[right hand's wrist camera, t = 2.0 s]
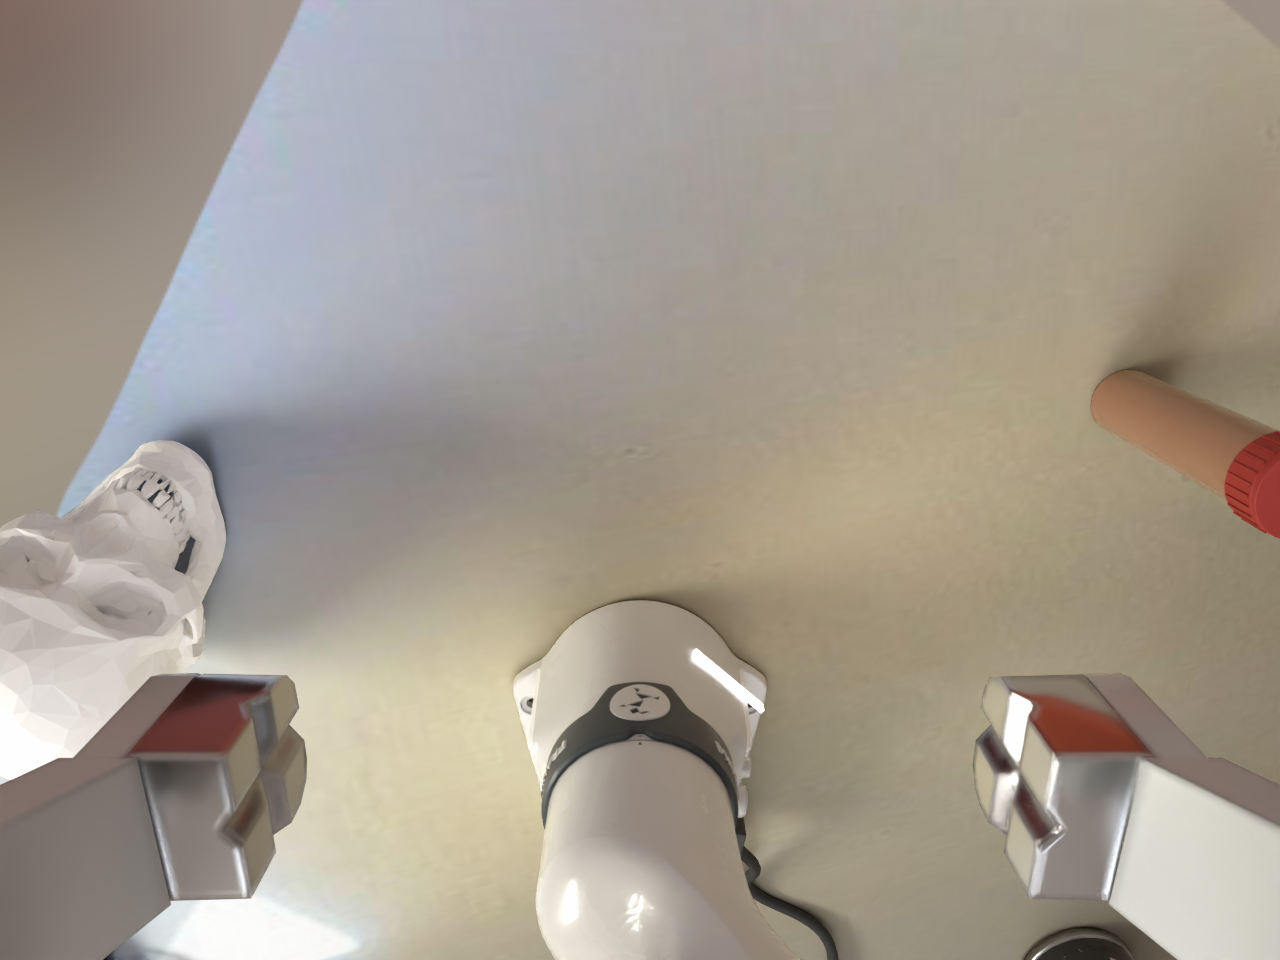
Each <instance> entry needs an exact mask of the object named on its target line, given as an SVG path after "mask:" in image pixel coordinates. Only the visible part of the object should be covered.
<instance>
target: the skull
mask: <svg viewBox="0 0 1280 960" xmlns="http://www.w3.org/2000/svg"><path fill="white" fill-rule="evenodd" d="M152 475H154V476H153V477H152ZM142 476H143V477H142ZM151 477H152V479H151V480H150V478H151ZM159 479H162V480H163V482H162V483H161V484H158V483H157V481H158V480H159ZM144 480H145V481H146V483H145V484H144V485H143V487H142V490H141V492H140V491H139V490H137V489H138V488H139V486H140V485H141V484H142V483H143V481H144ZM168 484H169V485H170V487H169V489H168V492H167V493H166V492H165V491H164V489H165V487H166V486H167V485H168ZM157 490H162V491H161V492H159V493H158V495H157V496H156V498H155V499H154V501H153V503H152V504H151V503H150V502H149V501H148V500H147V499H148V498H149V497H150V496H152V495H153V494H154V493H155V492H156V491H157ZM172 491H173V492H174V495H173V497H172V498H171V499H170V500H169V501H167V500H168V499H169V498H170V497H171V496H170V495H169V493H171V492H172ZM166 501H167V502H166ZM165 502H166V503H165ZM164 503H165V504H164ZM162 504H164V505H163V506H161V505H162ZM178 504H179V505H178ZM176 505H178V506H176ZM160 506H161V507H160ZM156 507H160V510H158V509H157V508H156ZM165 515H166V516H165ZM171 519H172V520H171ZM170 520H171V522H170ZM190 536H191V537H193V538H194V539H195V543H194V546H193V549H192V552H191V556H190V561H189V566H188V570H187V571H186V573H185V574H183V573H181V572H179V571H176V570H175V567H176V564H177V561H178V558H179V554H180V553H181V552H183V551H184V549H185V547H186V542H187V541H188V540H189V538H190ZM225 543H226V531H225V524H224V519H223V516H222V513H221V510H220V507H219V503H218V500H217V497H216V493H215V488H214V483H213V478H212V472H211V470H210V469H209V467H208V466H207V464H206V463H205V461H204V460H203V459H202V458H201V457H200V456H199V455H198V454H197V453H196V452H194V451H193V450H191V449H190V448H188V447H186V446H184V445H182V444H180V443H178V442H175V441H170V440H157V441H150V442H146V443H144V444H143V445H141V446H140V447H139V448H138V449H137V450H136V452H135V453H134V454H133V456H132V457H131V458H130V459H129V460H128V461H127V462H126V463H125V464H124V465H122V466H121V467H120V468H118V469H117V470H115V471H114V472H112V473H111V474H110V475H109V476H108V477H107V478H106V479H105V480H104V481H103V482H102V483H101V484H100V485H99V486H97V487H96V488H95V489H94V490H93V491H92V492H91V493H90V494H89V495H88V496H87V497H86V498H85V499H84V500H83V501H82V502H81V503H80V505H78V506H77V507H76V508H74V509H73V510H71V511H70V512H68V513H67V514H66V515H64V516H63V517H61V518H58V517H54V516H52V515H50V514H47V513H45V512H42V511H40V510H35V511H32V512H30V513H27V514H25V515H23V516H20V517H18V518H16V519H14V520H12V521H10V522H8V523H6V524H5V525H3V526H2V527H1V528H0V776H2V777H4V778H6V779H9V780H12V779H14V778H16V777H19V776H21V775H23V774H25V773H27V772H29V771H31V770H34V769H36V768H38V767H40V766H42V765H44V764H46V763H49V762H51V761H53V760H55V759H57V758H73V757H74V756H75V755H76V754H77V753H78V752H79V751H80V750H81V749H82V748H83V747H84V746H85V745H86V744H87V743H88V741H89V740H90V739H91V738H92V737H93V736H94V735H95V734H96V733H97V732H98V731H99V730H100V729H101V728H102V727H103V726H104V725H105V724H106V723H107V722H108V721H109V720H110V718H111V717H112V716H113V715H114V714H115V713H116V712H117V711H118V710H119V709H120V708H121V707H122V706H123V705H124V704H125V703H126V702H127V701H128V700H129V699H130V698H131V697H132V695H133V694H134V693H135V692H136V691H137V690H138V689H139V688H140V687H141V686H142V685H143V684H144V683H145V682H146V681H147V680H148V679H149V678H150V677H151V676H155V675H159V674H180V673H186V672H187V670H188V669H189V668H190V667H191V666H192V665H193V664H194V663H195V662H196V661H197V660H199V659H200V658H201V656H202V655H203V647H204V635H205V625H206V619H204V618H203V613H204V609H203V604H202V601H203V599H204V597H205V595H206V593H207V590H208V588H209V586H210V584H211V582H212V580H213V578H214V575H215V573H216V571H217V569H218V567H219V565H220V563H221V561H222V558H223V554H224V549H225Z"/></svg>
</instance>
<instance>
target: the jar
mask: <svg viewBox="0 0 1280 960" xmlns="http://www.w3.org/2000/svg"><path fill="white" fill-rule="evenodd" d="M1091 413H1092V416H1093V418H1094V420H1095V422H1096V423H1097V424H1098V425H1099V426H1100V427H1101V428H1103V429H1105V430H1106V431H1108V432H1110V433H1111V434H1113V435H1115V436H1116V437H1118V438H1120V439H1122V440H1123V441H1125V442H1127V443H1128V444H1130V445H1132V446H1134V447H1135V448H1137V449H1139V450H1140V451H1142V452H1144V453H1146V454H1147V455H1149V456H1151V457H1152V458H1154V459H1156V460H1158V461H1159V462H1161V463H1163V464H1164V465H1166V466H1168V467H1170V468H1171V469H1173V470H1175V471H1176V472H1178V473H1180V474H1182V475H1183V476H1185V477H1187V478H1188V479H1190V480H1192V481H1194V482H1195V483H1197V484H1199V485H1200V486H1202V487H1204V488H1205V489H1207V490H1209V491H1211V492H1212V493H1214V494H1216V495H1217V496H1219V497H1221V498H1223V499H1224V500H1226V501H1227V499H1226V496H1225V488H1224V487H1225V485H1224V483H1225V478H1226V474H1227V471H1228V469H1229V467H1230V465H1231V463H1232V461H1233V460H1234V458H1235V457H1236V456H1237V454H1238V453H1239V452H1240V451H1241V450H1242V449H1243V448H1244V447H1245V446H1247V445H1248V444H1249V443H1250V442H1252V441H1254V440H1255V439H1257V438H1259V437H1261V436H1263V435H1266V434H1269V433H1272V432H1275V431H1279V430H1277V429H1274V428H1272V427H1270V426H1267V425H1265V424H1263V423H1260V422H1258V421H1256V420H1253V419H1251V418H1249V417H1246V416H1244V415H1242V414H1239V413H1237V412H1235V411H1232V410H1230V409H1227V408H1225V407H1223V406H1220V405H1218V404H1216V403H1213V402H1211V401H1209V400H1206V399H1204V398H1202V397H1199V396H1197V395H1195V394H1192V393H1190V392H1188V391H1185V390H1183V389H1181V388H1178V387H1176V386H1174V385H1171V384H1169V383H1166V382H1164V381H1162V380H1159V379H1157V378H1155V377H1152V376H1150V375H1148V374H1145V373H1143V372H1140V371H1137V370H1122V371H1118V372H1116V373H1113V374H1111V375H1110V376H1108V377H1107V378H1105V379H1104V380H1103V381H1102V382H1101V383H1100V384H1099V385H1098V387H1097V388H1096V390H1095V392H1094V394H1093V396H1092V400H1091Z"/></svg>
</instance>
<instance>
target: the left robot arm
mask: <svg viewBox="0 0 1280 960" xmlns="http://www.w3.org/2000/svg"><path fill="white" fill-rule="evenodd" d="M1025 960H1134V958H1133V957H1132V955H1131V953H1130V952H1129V950H1128V948H1127V947H1126V945H1125V944H1124V943H1123V942H1122V941H1121V940H1120V939H1119V938H1117V937H1116V936H1114V935H1112V934H1110V933H1108V932H1105V931H1102V930H1097V929H1090V928H1080V929H1072V930H1067V931H1063V932H1060V933H1057V934H1055V935H1052V936H1050V937H1048V938H1046V939H1045V940H1043V941H1042V942H1040V943H1039V944H1038V945H1036V946H1035V947H1034V948H1033V949H1032V950H1031V951H1030V952H1029V954H1028V955H1027V956H1026V958H1025Z"/></svg>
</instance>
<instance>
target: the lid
mask: <svg viewBox="0 0 1280 960" xmlns="http://www.w3.org/2000/svg"><path fill="white" fill-rule="evenodd" d="M1224 485H1225V487H1224V488H1225V496H1226V499H1227V501H1228V506H1230V507H1231V508H1232V510H1233V511H1234V512H1233V513H1234V514H1236V515H1238V516H1239V517H1241V518H1242V520H1244V521H1246V522H1247V523H1249V524H1251V525H1252V526H1254V527H1256V528H1257V529H1259V530H1261V531H1262V532H1264V533H1266V532H1267V533H1269V534H1271V535H1273V536H1274V537H1277V538H1280V431H1275V432H1272V433H1269V434H1266V435H1263V436H1261V437H1259V438H1257V439H1255V440H1254V441H1252V442H1250V443H1249V444H1248V445H1247V446H1245V447H1244V448H1243V449H1242V450H1241V451H1240V452H1239V453H1238V454H1237V456H1236V457H1235V458H1234V460H1233V461H1232V463H1231V465H1230V467H1229V469H1228V471H1227V474H1226V478H1225V483H1224Z"/></svg>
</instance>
